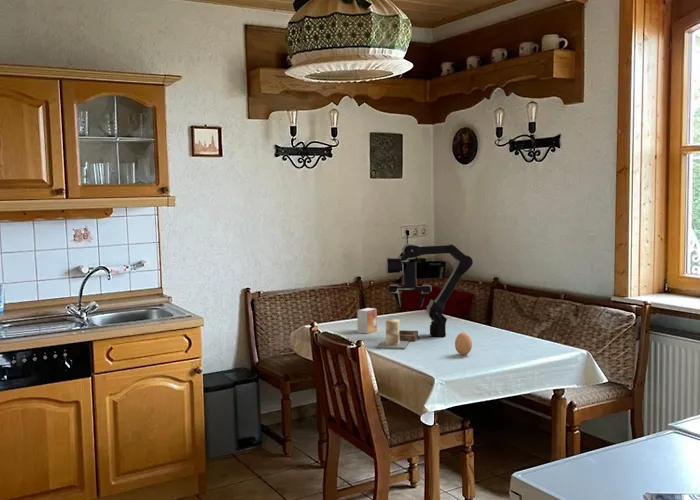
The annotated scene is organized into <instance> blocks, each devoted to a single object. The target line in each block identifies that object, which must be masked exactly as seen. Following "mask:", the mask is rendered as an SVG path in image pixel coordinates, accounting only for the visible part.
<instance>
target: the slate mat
mask: <svg viewBox="0 0 700 500" xmlns="http://www.w3.org/2000/svg"><path fill="white" fill-rule="evenodd" d="M409 344H410V341H400V343H399V344H398V345H386V340H383V339H382V340H380V341H379V342H378V343H377V345H376V346H375V348H376V349H379V350H381V349H382V348H383V350H406V348H408V345H409Z"/></svg>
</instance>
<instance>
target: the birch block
mask: <svg viewBox="0 0 700 500" xmlns="http://www.w3.org/2000/svg"><path fill="white" fill-rule="evenodd" d="M385 341H386V345H398V344H399V343H400V319H397V318H396V319H395V318H387V319H386V320H385Z"/></svg>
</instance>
